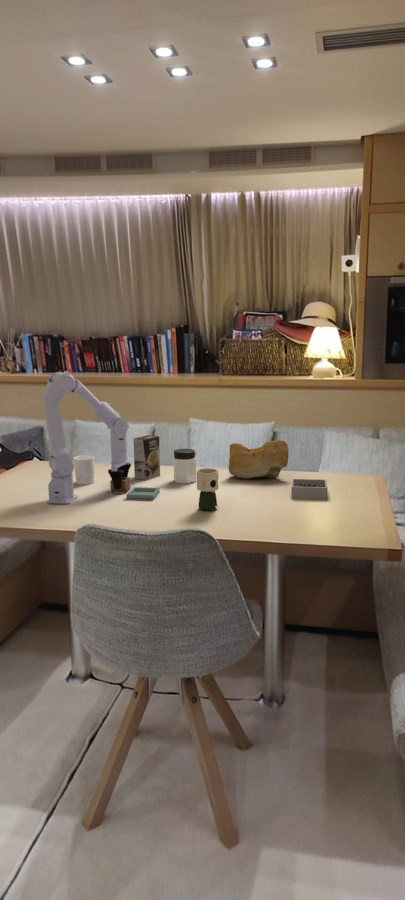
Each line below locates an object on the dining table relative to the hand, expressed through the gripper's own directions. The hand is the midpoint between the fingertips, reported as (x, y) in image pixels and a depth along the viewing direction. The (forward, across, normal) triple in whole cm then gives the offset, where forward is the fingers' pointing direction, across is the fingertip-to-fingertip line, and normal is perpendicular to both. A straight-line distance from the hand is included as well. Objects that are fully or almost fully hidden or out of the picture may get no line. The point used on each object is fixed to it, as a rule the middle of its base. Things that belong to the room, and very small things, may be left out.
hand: (120, 485), depth 227 cm
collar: (+2, 0, 0) cm, 2 cm away
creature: (+2, +3, -68) cm, 68 cm away
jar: (+2, +16, -21) cm, 26 cm away
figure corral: (+2, +2, -68) cm, 68 cm away
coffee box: (+2, +21, -5) cm, 22 cm away
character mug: (+2, -19, -35) cm, 40 cm away
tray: (+2, -6, -10) cm, 12 cm away
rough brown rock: (+2, +27, -49) cm, 56 cm away
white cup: (+2, +10, +17) cm, 20 cm away
